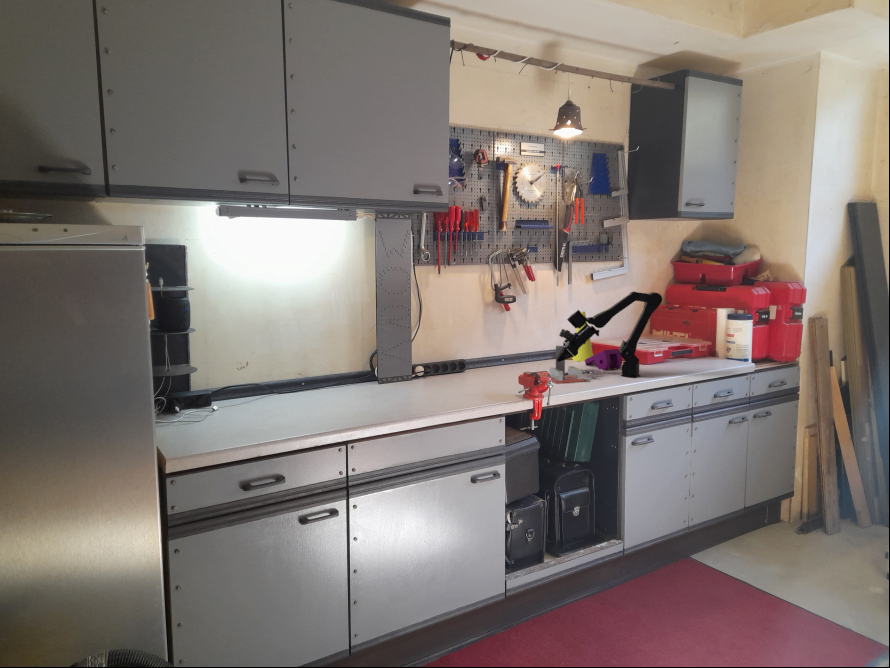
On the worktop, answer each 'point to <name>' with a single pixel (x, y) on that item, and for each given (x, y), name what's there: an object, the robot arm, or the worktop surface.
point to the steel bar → (560, 364)
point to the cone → (584, 348)
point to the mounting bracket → (606, 359)
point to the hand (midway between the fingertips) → (557, 359)
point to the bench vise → (572, 376)
